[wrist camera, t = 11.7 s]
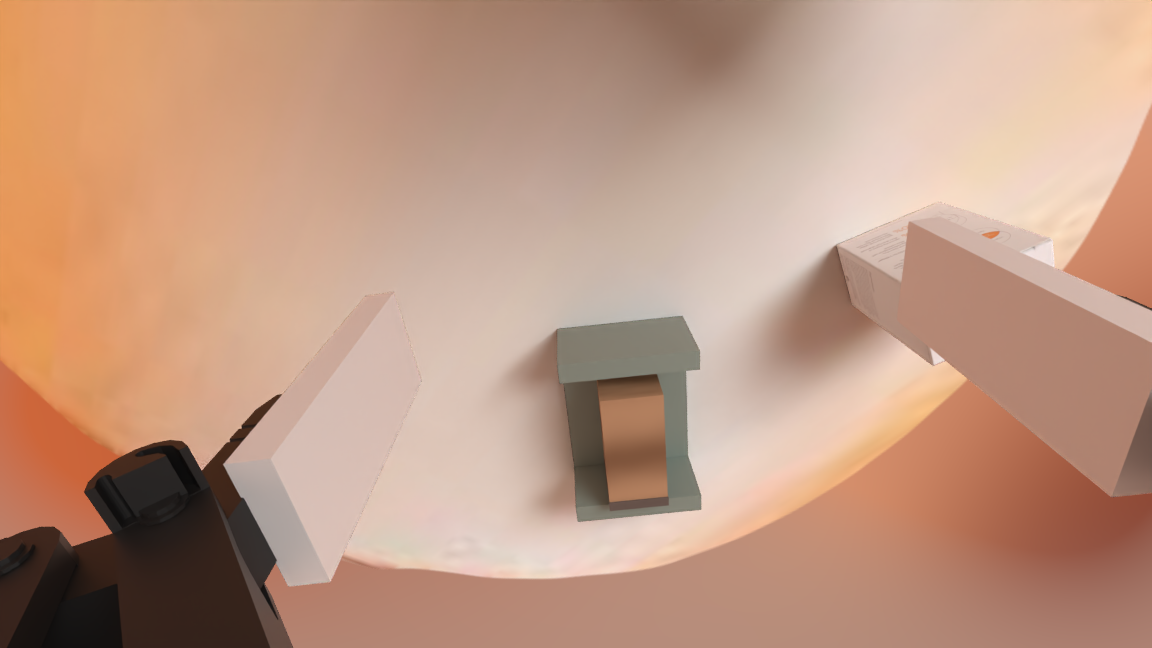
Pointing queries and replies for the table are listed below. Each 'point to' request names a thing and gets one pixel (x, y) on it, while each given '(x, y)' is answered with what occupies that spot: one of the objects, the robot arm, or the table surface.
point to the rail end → (633, 441)
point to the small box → (881, 258)
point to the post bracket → (615, 356)
